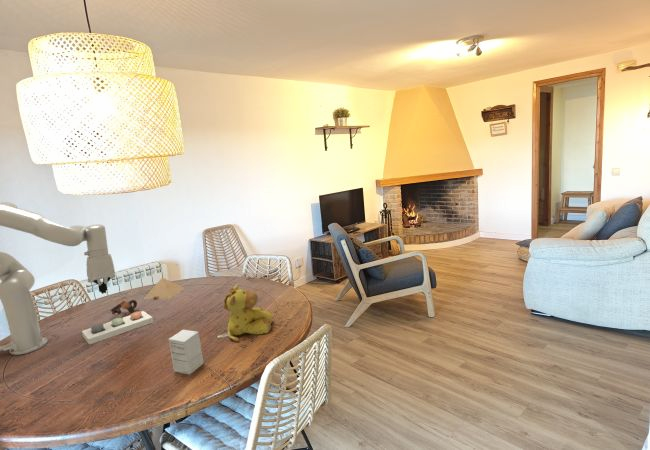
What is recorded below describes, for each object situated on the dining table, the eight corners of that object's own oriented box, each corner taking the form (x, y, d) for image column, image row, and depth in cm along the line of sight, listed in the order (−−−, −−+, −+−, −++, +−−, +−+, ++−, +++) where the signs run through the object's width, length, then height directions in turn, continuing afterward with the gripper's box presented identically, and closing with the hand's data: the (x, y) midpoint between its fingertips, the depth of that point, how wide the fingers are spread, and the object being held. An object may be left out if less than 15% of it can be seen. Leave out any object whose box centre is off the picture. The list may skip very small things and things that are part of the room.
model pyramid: (141, 300, 203) (138, 283, 201) (160, 289, 220) (157, 273, 218) (169, 300, 201) (166, 282, 199) (186, 288, 217) (183, 272, 215)
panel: (89, 344, 155) (88, 339, 154) (82, 336, 163) (81, 330, 163) (153, 322, 172) (152, 317, 172) (144, 315, 181) (143, 310, 180)
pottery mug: (124, 321, 177) (112, 308, 176) (117, 326, 183) (106, 313, 182) (144, 306, 187) (133, 293, 185) (137, 310, 192) (126, 298, 191)
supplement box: (188, 360, 136) (183, 328, 134) (204, 363, 133) (199, 331, 131) (173, 372, 130) (167, 338, 127) (189, 375, 127) (184, 341, 124)
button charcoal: (94, 337, 159) (92, 329, 158) (91, 334, 162) (89, 326, 162) (106, 333, 162) (104, 325, 161) (103, 330, 165) (101, 322, 165)
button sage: (114, 330, 164) (113, 323, 164) (111, 328, 168) (110, 320, 167) (125, 327, 168) (124, 319, 167) (122, 324, 171) (121, 316, 170)
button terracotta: (133, 324, 170) (132, 316, 169) (130, 321, 173) (129, 314, 172) (144, 320, 173) (142, 313, 172) (140, 318, 176) (139, 310, 176)
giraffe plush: (281, 328, 156) (276, 285, 153) (227, 348, 143) (221, 302, 140) (260, 314, 173) (255, 274, 169) (210, 330, 160) (204, 288, 156)
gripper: (80, 257, 155) (85, 299, 158) (119, 251, 165) (124, 290, 168) (76, 254, 161) (82, 295, 164) (114, 248, 171) (119, 286, 174)
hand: (103, 292), depth 166 cm, fingers closed
